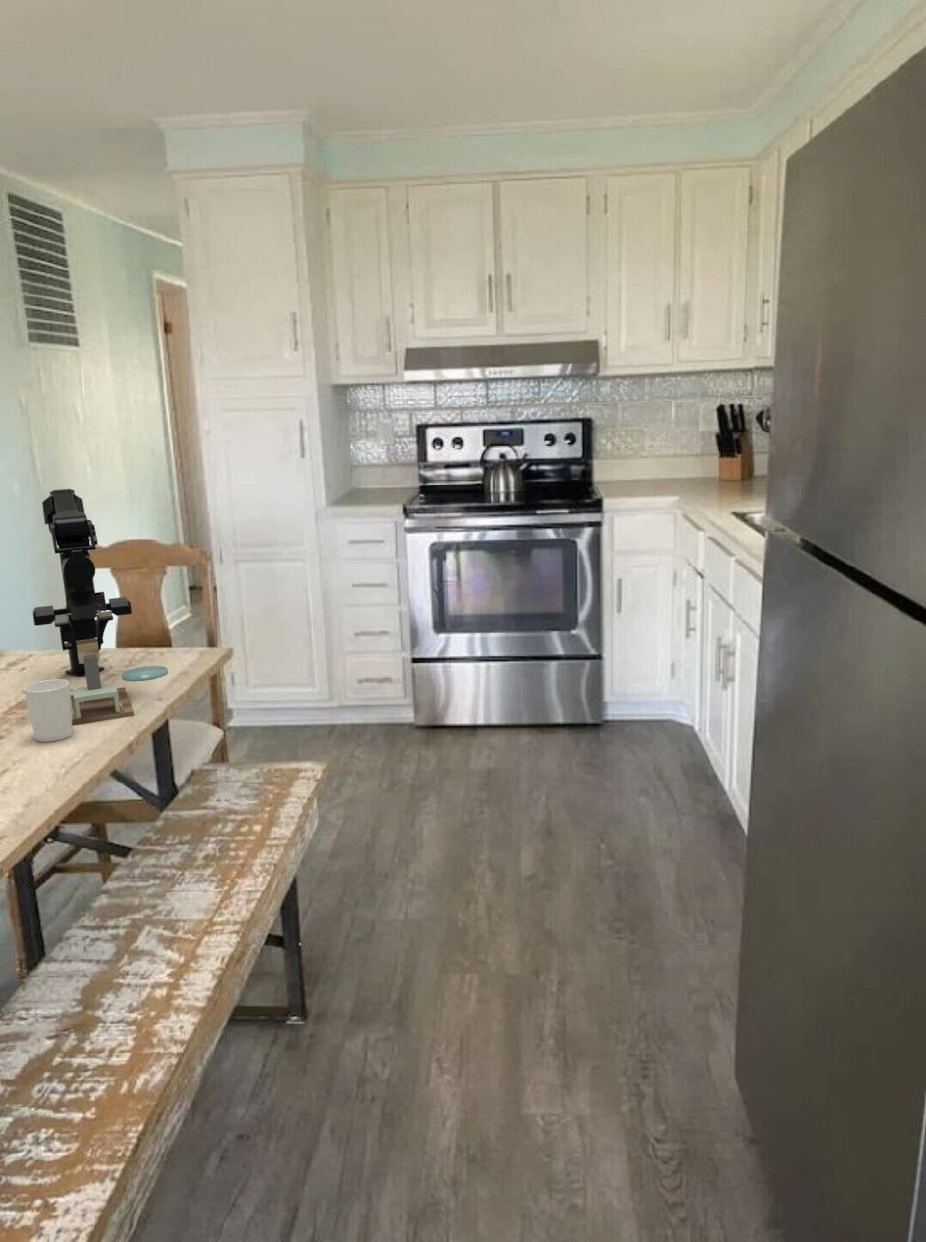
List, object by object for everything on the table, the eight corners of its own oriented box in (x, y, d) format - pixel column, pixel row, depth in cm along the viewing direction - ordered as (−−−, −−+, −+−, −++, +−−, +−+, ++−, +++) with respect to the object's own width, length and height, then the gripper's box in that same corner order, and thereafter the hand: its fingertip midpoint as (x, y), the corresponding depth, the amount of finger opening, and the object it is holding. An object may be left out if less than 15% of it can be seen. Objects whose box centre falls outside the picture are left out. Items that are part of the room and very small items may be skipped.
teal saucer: (113, 677, 224) (112, 674, 224) (150, 667, 232) (149, 663, 231) (140, 683, 218) (139, 680, 218) (177, 672, 226) (176, 669, 225)
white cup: (60, 744, 181) (53, 692, 179) (22, 742, 183) (14, 691, 181) (84, 729, 189) (77, 679, 186) (48, 728, 190) (40, 678, 188)
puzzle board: (60, 701, 207) (59, 695, 207) (125, 691, 212) (124, 685, 212) (64, 727, 190) (63, 721, 190) (134, 716, 195) (133, 709, 195)
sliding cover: (75, 709, 197) (68, 657, 195) (117, 702, 200) (110, 652, 198) (77, 718, 191) (69, 665, 189) (120, 711, 194) (113, 659, 192)
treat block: (78, 659, 205) (75, 640, 204) (98, 656, 207) (96, 638, 206) (79, 663, 202) (76, 645, 201) (100, 661, 203) (97, 642, 202)
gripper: (28, 589, 189) (40, 667, 193) (129, 578, 197) (139, 653, 200) (28, 580, 199) (39, 654, 203) (124, 570, 207) (133, 642, 210)
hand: (88, 651), depth 204 cm, fingers closed on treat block, 4 cm apart
